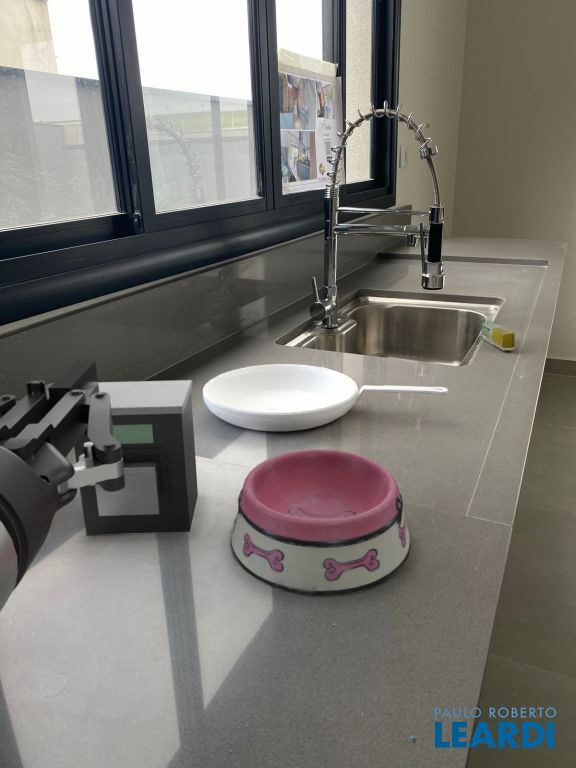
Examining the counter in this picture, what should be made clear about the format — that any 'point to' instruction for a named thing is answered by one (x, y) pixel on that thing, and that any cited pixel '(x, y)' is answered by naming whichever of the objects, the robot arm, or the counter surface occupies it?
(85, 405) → the robot arm
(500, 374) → the counter surface
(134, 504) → the push plate
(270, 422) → the pan
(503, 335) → the medication box
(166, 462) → the dispenser
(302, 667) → the counter surface
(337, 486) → the dog bowl
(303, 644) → the counter surface
